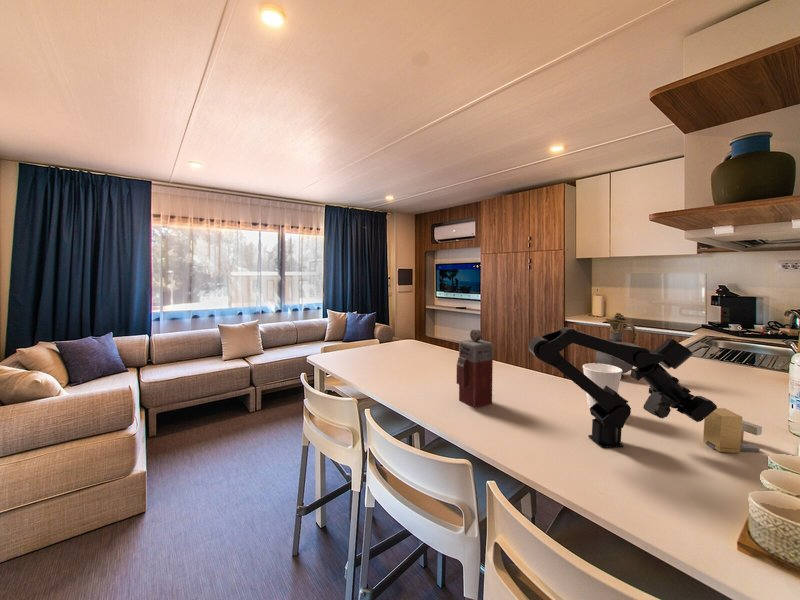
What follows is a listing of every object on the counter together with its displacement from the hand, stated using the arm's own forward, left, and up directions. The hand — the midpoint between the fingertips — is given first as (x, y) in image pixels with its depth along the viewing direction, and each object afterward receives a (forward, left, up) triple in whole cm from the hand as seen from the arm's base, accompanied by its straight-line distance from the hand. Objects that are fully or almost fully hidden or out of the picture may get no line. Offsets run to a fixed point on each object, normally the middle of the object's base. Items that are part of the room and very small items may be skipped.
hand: (701, 419), depth 92 cm
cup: (-12, +24, -8) cm, 28 cm away
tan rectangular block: (+5, -1, -8) cm, 9 cm away
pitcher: (+23, +64, -8) cm, 68 cm away
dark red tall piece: (-54, +36, -8) cm, 66 cm away
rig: (+10, +2, -8) cm, 13 cm away
